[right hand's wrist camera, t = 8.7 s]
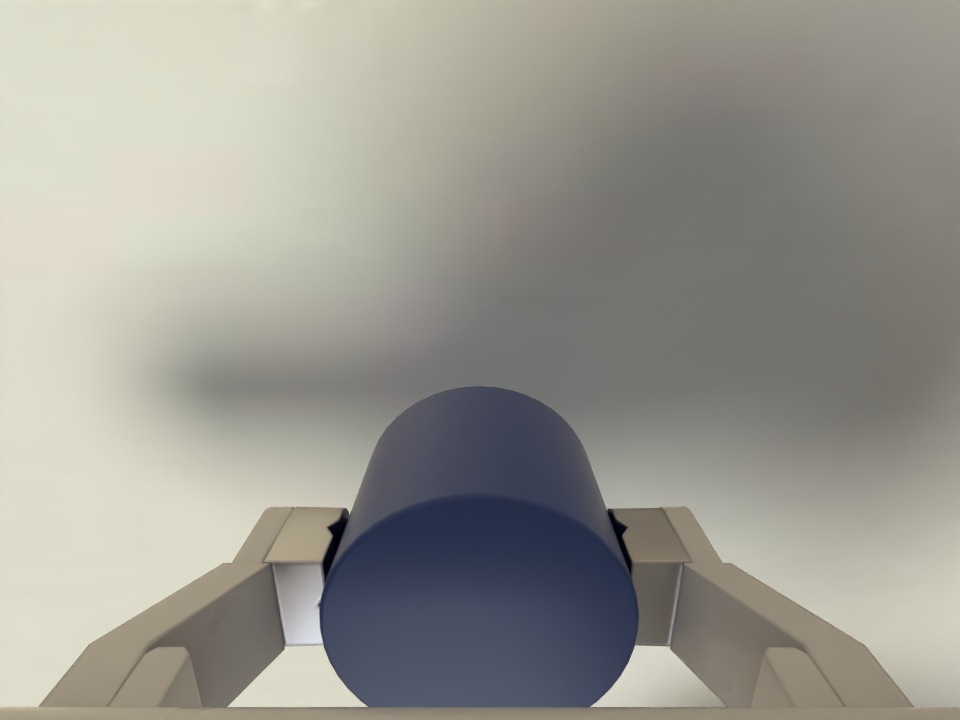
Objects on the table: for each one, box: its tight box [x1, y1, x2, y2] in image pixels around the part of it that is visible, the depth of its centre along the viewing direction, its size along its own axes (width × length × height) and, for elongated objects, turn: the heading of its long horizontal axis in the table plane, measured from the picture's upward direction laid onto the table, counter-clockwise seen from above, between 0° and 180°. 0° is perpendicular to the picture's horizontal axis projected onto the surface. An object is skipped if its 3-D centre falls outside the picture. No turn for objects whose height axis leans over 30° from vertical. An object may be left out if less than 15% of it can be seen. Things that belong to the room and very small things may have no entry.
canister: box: [319, 386, 639, 707], centre depth 10 cm, size 5×5×4 cm
